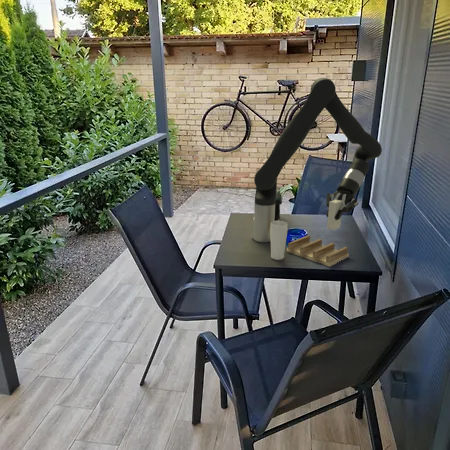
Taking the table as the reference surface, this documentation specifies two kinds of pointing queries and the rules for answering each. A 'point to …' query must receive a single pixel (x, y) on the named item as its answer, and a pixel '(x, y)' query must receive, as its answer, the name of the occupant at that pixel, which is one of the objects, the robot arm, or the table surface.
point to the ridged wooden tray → (317, 251)
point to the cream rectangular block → (333, 215)
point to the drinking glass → (278, 239)
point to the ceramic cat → (277, 205)
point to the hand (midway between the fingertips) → (331, 217)
